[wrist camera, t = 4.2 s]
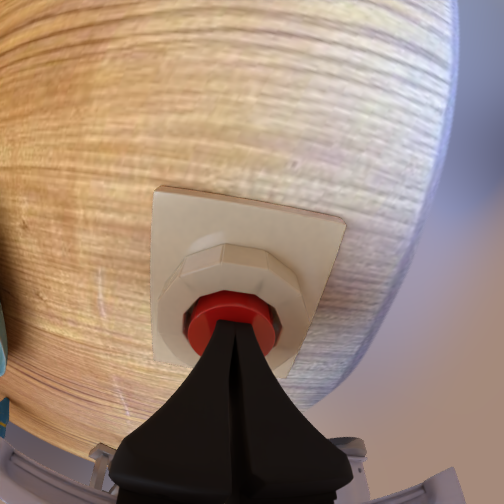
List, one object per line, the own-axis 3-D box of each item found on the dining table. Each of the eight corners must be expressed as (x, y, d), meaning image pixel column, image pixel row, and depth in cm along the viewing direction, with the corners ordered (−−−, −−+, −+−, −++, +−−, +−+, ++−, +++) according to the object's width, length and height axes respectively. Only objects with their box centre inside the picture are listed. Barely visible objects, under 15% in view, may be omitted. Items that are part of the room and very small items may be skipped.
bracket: (99, 442, 24) (84, 503, 15) (148, 462, 26) (138, 522, 17) (89, 451, 27) (76, 501, 18) (130, 469, 29) (121, 518, 20)
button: (262, 347, 13) (264, 371, 12) (190, 337, 13) (186, 361, 11) (281, 289, 12) (285, 312, 10) (196, 276, 11) (189, 298, 10)
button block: (284, 368, 16) (289, 399, 14) (156, 350, 15) (147, 381, 13) (341, 217, 12) (361, 240, 10) (159, 185, 11) (138, 201, 9)
